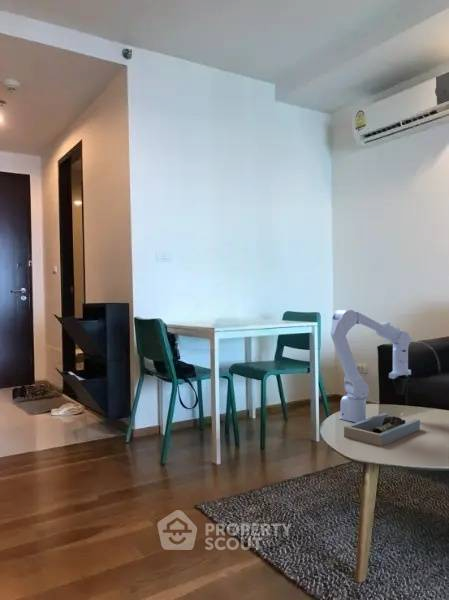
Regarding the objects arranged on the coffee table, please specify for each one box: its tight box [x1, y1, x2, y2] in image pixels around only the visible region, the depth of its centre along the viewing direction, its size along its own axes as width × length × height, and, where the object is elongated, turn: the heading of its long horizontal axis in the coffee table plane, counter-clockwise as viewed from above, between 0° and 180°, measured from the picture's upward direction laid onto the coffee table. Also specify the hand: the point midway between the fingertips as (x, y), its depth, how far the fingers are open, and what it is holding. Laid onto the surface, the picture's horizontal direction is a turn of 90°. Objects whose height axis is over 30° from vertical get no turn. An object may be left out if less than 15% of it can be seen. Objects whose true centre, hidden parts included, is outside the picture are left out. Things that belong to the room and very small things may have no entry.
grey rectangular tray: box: [343, 412, 421, 447], centre depth 169 cm, size 14×28×4 cm, turn 133°
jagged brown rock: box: [371, 415, 407, 434], centre depth 167 cm, size 18×7×6 cm, turn 132°
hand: (400, 394), depth 190 cm, fingers closed
